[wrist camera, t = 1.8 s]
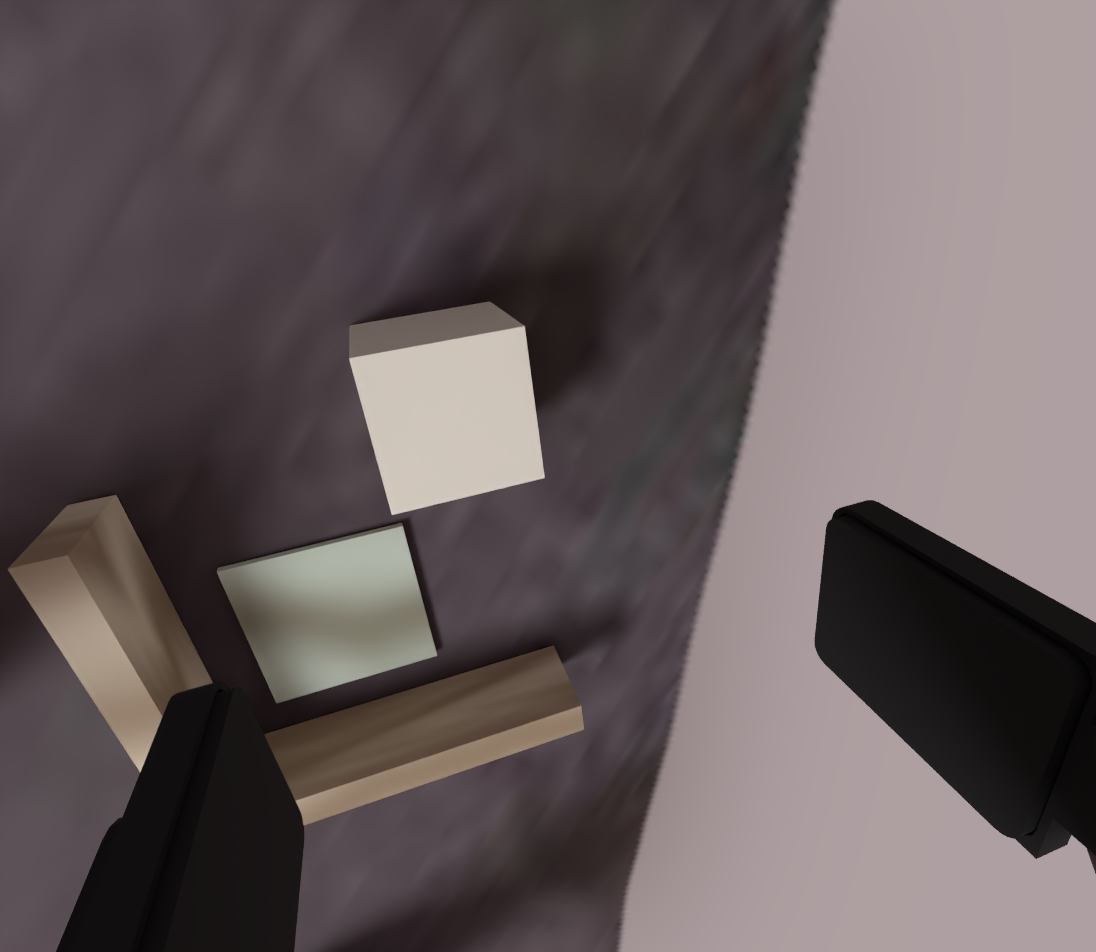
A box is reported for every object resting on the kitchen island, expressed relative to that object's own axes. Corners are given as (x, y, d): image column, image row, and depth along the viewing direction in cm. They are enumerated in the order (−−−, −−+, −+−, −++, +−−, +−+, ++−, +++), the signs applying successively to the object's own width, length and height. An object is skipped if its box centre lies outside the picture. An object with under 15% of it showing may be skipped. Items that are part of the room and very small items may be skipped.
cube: (349, 325, 20) (348, 358, 16) (489, 300, 21) (524, 326, 17) (384, 456, 23) (392, 516, 18) (509, 428, 24) (544, 479, 19)
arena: (67, 505, 20) (7, 568, 16) (519, 408, 23) (548, 444, 20) (218, 774, 26) (198, 861, 23) (556, 667, 30) (584, 729, 26)
